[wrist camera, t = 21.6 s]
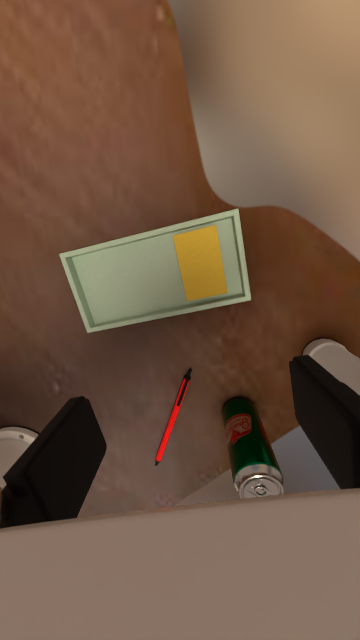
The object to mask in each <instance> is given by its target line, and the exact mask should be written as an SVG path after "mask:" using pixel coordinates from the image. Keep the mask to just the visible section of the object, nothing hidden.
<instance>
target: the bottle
mask: <svg viewBox="0 0 360 640" xmlns="http://www.w3.org/2000/svg"><path fill="white" fill-rule="evenodd" d="M303 355H309V356H311V357H312V358H313V359H314V360H315V361H316V362H318V363H319V364H320V365H321V366H322V367H324V368H325V369H326V370H327V371H328V372H329V373H331V374H332V375H333V376H334V377H335V378H336V379H338V380H339V381H340V382H343V383H345V384H346V385H348V386H349V387H350V388H351V389H352V390H354V391H355V392H356V393H357V394H358V395H360V359H359V358H358V357H356V356H354V355H353V354H351V353H350V352H348V351H347V350H346V348H345V347H344V346H343V345H341V344H339V343H337V342H335V341H333V340H330V339H318V340H314V341H313V342H311V343H310V344H308V345H307V347H306V348H305V349H304V351H303ZM303 355H302V356H303Z"/></svg>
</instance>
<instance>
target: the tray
mask: <svg viewBox="0 0 360 640" xmlns="http://www.w3.org/2000/svg"><path fill="white" fill-rule="evenodd" d="M213 225H216V226H217V232H218V238H219V244H220V250H221V256H222V262H223V268H224V274H225V280H226V286H227V292H228V293H225V294H220V295H215V296H211V297H206V298H201V299H196V300H191V301H187V299H186V295H185V290H184V286H183V281H182V277H181V272H180V268H179V263H178V259H177V254H176V250H175V245H174V241H173V235H177V234H181V233H185V232H189V231H193V230H197V229H201V228H205V227H209V226H213ZM59 255H60V258H61V261H62V264H63V266H64V269H65V272H66V275H67V278H68V280H69V283H70V286H71V289H72V291H73V294H74V297H75V300H76V303H77V305H78V308H79V311H80V314H81V316H82V319H83V322H84V325H85V328H86V330H87V333H90V332H95V331H100V330H105V329H110V328H115V327H120V326H125V325H130V324H135V323H140V322H145V321H150V320H155V319H160V318H165V317H170V316H175V315H180V314H185V313H190V312H195V311H200V310H205V309H209V308H214V307H219V306H224V305H229V304H234V303H239V302H244V301H249V300H251V295H250V288H249V281H248V274H247V267H246V260H245V253H244V245H243V238H242V231H241V224H240V217H239V210H238V209H234V210H230V211H226V212H222V213H218V214H214V215H211V216H207V217H203V218H199V219H195V220H191V221H187V222H183V223H179V224H175V225H171V226H167V227H163V228H159V229H156V230H152V231H148V232H144V233H140V234H136V235H132V236H128V237H124V238H120V239H116V240H112V241H108V242H104V243H101V244H97V245H93V246H89V247H85V248H81V249H77V250H73V251H69V252H65V253H61V254H59Z"/></svg>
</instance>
